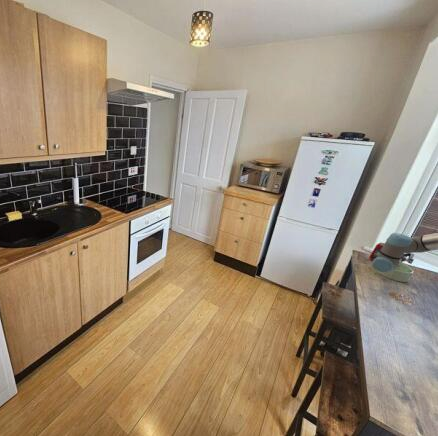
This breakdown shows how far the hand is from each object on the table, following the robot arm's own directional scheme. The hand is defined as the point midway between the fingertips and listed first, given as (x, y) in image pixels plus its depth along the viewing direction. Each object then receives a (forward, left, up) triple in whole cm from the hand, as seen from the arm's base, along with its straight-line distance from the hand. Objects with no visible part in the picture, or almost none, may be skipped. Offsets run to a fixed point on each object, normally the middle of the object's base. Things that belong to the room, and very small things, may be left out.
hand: (404, 248), depth 132 cm
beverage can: (+9, -6, -16) cm, 19 cm away
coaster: (-11, +29, -16) cm, 35 cm away
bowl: (-1, +5, -16) cm, 17 cm away
